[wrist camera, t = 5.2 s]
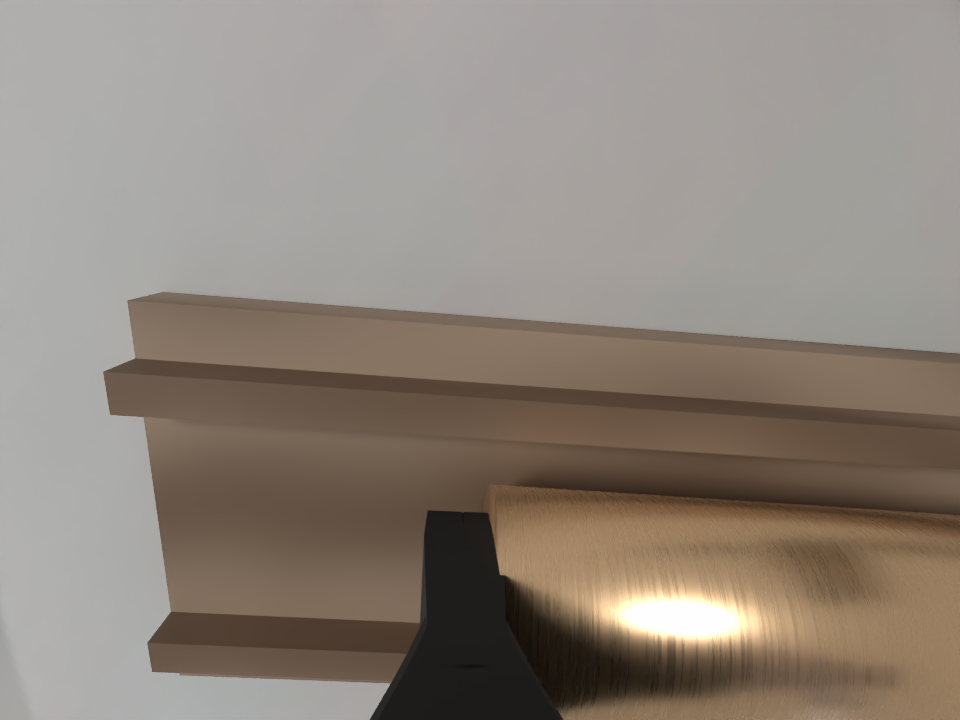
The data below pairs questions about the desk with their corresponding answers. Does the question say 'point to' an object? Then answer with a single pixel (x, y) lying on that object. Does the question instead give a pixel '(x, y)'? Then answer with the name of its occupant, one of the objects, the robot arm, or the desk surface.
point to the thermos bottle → (730, 606)
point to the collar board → (469, 452)
